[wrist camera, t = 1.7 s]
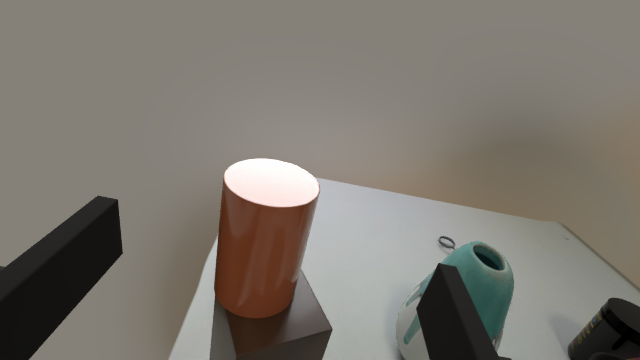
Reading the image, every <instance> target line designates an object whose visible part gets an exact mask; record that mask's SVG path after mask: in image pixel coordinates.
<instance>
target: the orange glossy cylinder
mask: <svg viewBox="0 0 640 360" xmlns="http://www.w3.org/2000/svg"><path fill="white" fill-rule="evenodd" d="M319 193H320V186H319V183H318V181H317V180H316V179H315V178H314V176H312V175H311V174H310V173H309V172H307V171H306V170H304V169H302V168H300V167H298V166H296V165H293V164H290V163H287V162H283V161H279V160H272V159H249V160H243V161H240V162H237V163H235V164H233V165H231V166H230V167H229V168H228V169H227V170H226V171H225V173H224V176H223V187H222V199H221V210H220V222H219V234H218V246H217V258H216V269H215V281H214V290H215V295H216V297H217V299H218V301H219V302H220V303H221V305H222V306H223V307H224V308H225V309H227V310H228V311H230V312H231V313H233V314H235V315H238V316H241V317H245V318H252V319H259V318H266V317H270V316H273V315H276V314H278V313H280V312H281V311H283V310H284V309H285V308H286V307H287V306H288V305H289V304H290V303H291V301H292V299H293V297H294V294H295V290H296V286H297V282H298V278H299V274H300V270H301V266H302V262H303V258H304V254H305V250H306V245H307V241H308V237H309V233H310V229H311V225H312V221H313V217H314V213H315V209H316V205H317V201H318V197H319Z"/></svg>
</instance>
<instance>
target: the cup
mask: <svg viewBox="0 0 640 360" xmlns="http://www.w3.org/2000/svg"><path fill="white" fill-rule="evenodd" d="M589 360H626V359H624V358H622V357H619V356H617V355H614V354H610V353H605V352H597V353H595V354H593V355H592V356H591V357H590V359H589Z"/></svg>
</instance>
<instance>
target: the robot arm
mask: <svg viewBox="0 0 640 360" xmlns="http://www.w3.org/2000/svg"><path fill="white" fill-rule="evenodd" d="M122 253H123V252H122V240H121V229H120V219H119V208H118V200H117V199H112V198H107V197H101V196H97V197H96V198H94V199H93V200H92V201H90V202H89V203H88V204H86V205H85V206H84V207H83V208H81V209H80V210H79V211H77V212H76V213H75V214H74V215H72V216H71V217H70V218H68V219H67V220H66V221H65V222H63V223H62V224H61V225H59V226H58V227H57V228H55V229H54V230H53V231H52V232H50V233H49V234H48V235H46V236H45V237H44V238H42V239H41V240H40V241H39V242H37V243H36V244H35V245H33V246H32V247H31V248H30V249H28V250H27V251H26V252H24V253H23V254H22V255H20V256H19V257H18V258H17V259H15V260H14V261H13V262H11V263H10V264H9V265H7V266H6V267H2V266H0V360H29V359H30V358H31V357H32V355H33V354H34V353H35V352H36V351H37V350H38V349H39V347H40V346H41V345H42V344H43V343H44V342H45V341H46V339H47V338H48V337H49V336H50V335H51V334H52V333H53V332H54V330H55V329H56V328H57V327H58V326H59V325H60V324H61V323H62V321H63V320H64V319H65V318H66V317H67V316H68V315H69V313H70V312H71V311H72V310H73V309H74V308H75V307H76V306H77V304H78V303H79V302H80V301H81V300H82V299H83V298H84V297H85V295H86V294H87V293H88V292H89V291H90V290H91V289H92V287H93V286H94V285H95V284H96V283H97V282H98V281H99V280H100V278H101V277H102V276H103V275H104V274H105V273H106V271H107V270H108V269H109V268H110V267H111V266H112V265H113V264H114V263H115V261H116V260H117V259H118V258H119V257H120V256H121V255H122ZM416 311H417V314H418V318H419V322H420V326H421V329H422V333H423V337H424V341H425V344H426V348H427V352H428V356H429V359H430V360H511V358H505V357H500V356H498V354H497V352H496V350H495V348H494V346H493V344H492V341H491V339H490V337H489V335H488V333H487V331H486V329H485V327H484V324H483V322H482V320H481V318H480V316H479V314H478V312H477V310H476V307H475V305H474V303H473V301H472V299H471V297H470V295H469V292H468V290H467V288H466V286H465V284H464V282H463V280H462V278H461V275H460V273H459V271H458V269H457V267H456V266H451V265H446V264H441V263H438V265H437V267H436V269H435V271H434V273H433V275H432V277H431V279H430V281H429V283H428V285H427V287H426V289H425V291H424V293H423V295H422V297H421V299H420V301H419V303H418V305H417V307H416Z"/></svg>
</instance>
